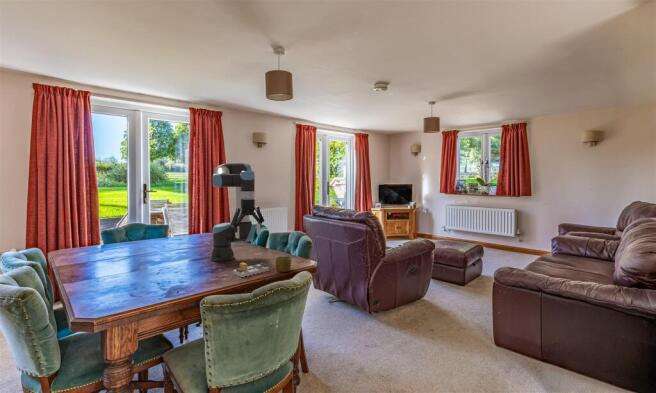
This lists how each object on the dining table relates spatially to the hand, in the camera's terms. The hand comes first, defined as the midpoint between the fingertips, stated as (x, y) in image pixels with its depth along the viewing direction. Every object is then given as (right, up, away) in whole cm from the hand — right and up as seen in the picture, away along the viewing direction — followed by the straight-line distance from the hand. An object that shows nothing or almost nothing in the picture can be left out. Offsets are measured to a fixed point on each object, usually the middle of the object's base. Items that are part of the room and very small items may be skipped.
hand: (248, 236), depth 181 cm
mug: (+19, -22, +12) cm, 31 cm away
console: (0, -22, +7) cm, 23 cm away
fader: (-4, -20, +3) cm, 20 cm away
